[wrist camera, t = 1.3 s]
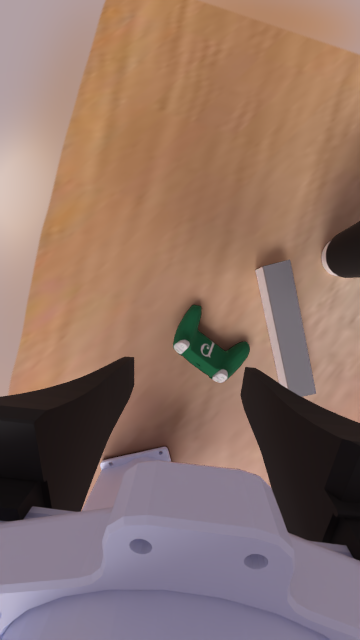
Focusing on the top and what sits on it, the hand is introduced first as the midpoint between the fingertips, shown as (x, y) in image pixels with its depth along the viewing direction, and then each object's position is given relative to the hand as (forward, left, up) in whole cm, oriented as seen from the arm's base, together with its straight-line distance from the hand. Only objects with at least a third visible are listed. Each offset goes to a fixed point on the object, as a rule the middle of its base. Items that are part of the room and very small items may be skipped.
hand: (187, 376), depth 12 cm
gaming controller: (+3, -1, -12) cm, 13 cm away
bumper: (+12, -2, -12) cm, 17 cm away
